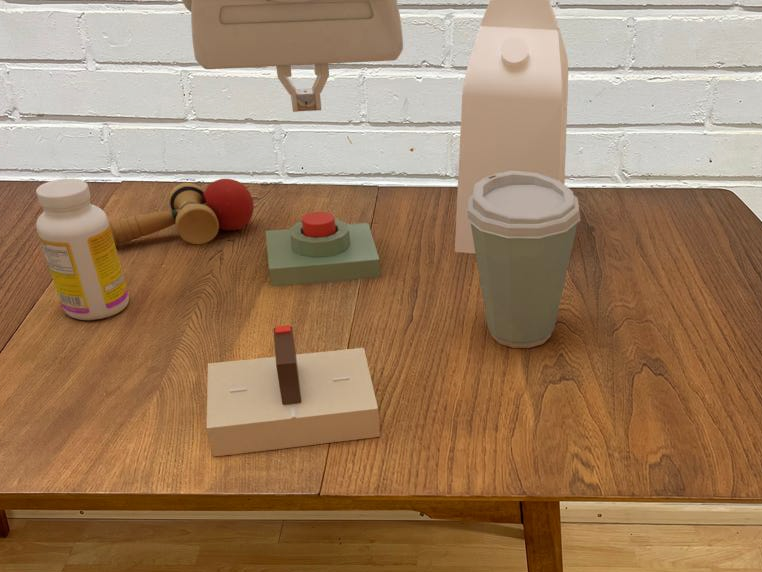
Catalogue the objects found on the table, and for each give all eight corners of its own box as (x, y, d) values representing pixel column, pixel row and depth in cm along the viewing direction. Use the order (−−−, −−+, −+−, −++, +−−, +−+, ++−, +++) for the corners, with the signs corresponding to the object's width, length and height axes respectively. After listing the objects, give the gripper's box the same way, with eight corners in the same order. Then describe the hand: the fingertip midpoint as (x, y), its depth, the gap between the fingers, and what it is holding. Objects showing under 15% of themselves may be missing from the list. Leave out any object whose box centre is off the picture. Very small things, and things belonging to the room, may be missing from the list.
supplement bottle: (128, 288, 97) (97, 170, 88) (133, 316, 92) (101, 195, 84) (62, 298, 95) (24, 179, 86) (64, 327, 90) (24, 204, 82)
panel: (212, 457, 74) (205, 427, 72) (213, 390, 82) (207, 361, 80) (380, 437, 76) (378, 407, 74) (366, 374, 84) (363, 345, 82)
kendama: (114, 275, 102) (266, 229, 106) (91, 220, 98) (248, 175, 102) (111, 258, 108) (254, 215, 112) (89, 207, 104) (237, 165, 109)
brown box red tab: (301, 402, 75) (295, 359, 72) (282, 405, 75) (275, 361, 72) (297, 365, 79) (291, 323, 77) (279, 367, 79) (272, 325, 76)
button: (304, 240, 98) (302, 225, 97) (302, 227, 101) (300, 212, 100) (337, 238, 99) (335, 223, 98) (334, 224, 101) (332, 210, 100)
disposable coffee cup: (592, 335, 90) (608, 191, 80) (517, 374, 84) (524, 223, 75) (518, 298, 96) (524, 159, 86) (443, 332, 90) (441, 187, 81)
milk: (563, 219, 112) (581, -12, 95) (556, 259, 103) (574, 12, 87) (469, 213, 113) (470, -17, 97) (454, 252, 104) (453, 6, 88)
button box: (271, 287, 97) (266, 253, 95) (267, 248, 105) (263, 215, 102) (380, 277, 99) (378, 244, 97) (369, 239, 107) (367, 207, 104)
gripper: (172, -36, 78) (201, 125, 87) (402, -42, 82) (408, 113, 91) (175, -49, 83) (202, 105, 92) (392, -54, 86) (399, 95, 95)
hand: (306, 109), depth 91 cm, fingers closed
